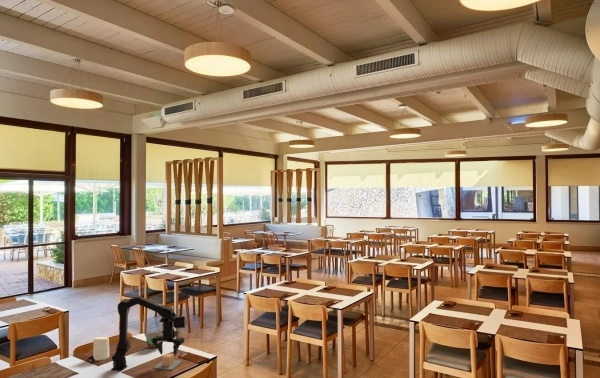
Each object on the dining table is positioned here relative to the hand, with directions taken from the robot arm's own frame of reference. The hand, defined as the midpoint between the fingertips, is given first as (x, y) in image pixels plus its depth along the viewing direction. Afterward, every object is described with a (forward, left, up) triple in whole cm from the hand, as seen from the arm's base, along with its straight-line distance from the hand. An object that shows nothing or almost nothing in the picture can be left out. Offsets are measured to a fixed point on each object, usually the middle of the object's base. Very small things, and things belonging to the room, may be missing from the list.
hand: (168, 354), depth 241 cm
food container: (-24, +22, -6) cm, 33 cm away
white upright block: (-48, +1, -6) cm, 49 cm away
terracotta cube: (0, 0, -6) cm, 6 cm away
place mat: (0, 0, -6) cm, 6 cm away
